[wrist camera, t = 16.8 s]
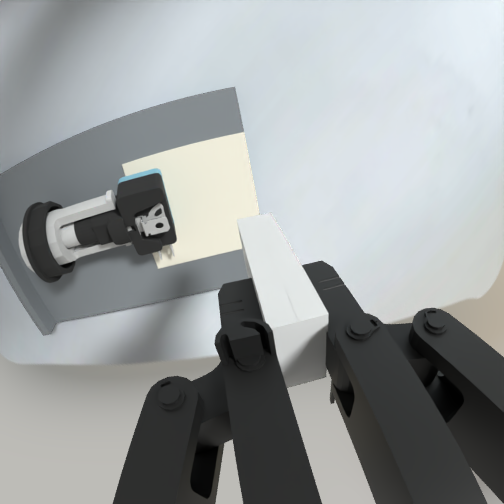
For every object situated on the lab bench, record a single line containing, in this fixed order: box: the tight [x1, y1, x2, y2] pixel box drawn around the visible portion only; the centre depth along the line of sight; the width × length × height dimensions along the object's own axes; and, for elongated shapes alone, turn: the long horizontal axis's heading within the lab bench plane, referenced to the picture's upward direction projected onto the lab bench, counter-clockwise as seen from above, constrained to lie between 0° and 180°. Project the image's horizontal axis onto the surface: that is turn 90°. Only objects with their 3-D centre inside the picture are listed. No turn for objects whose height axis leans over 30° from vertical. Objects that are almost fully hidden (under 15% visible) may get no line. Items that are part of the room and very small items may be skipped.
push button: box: [18, 168, 177, 283], centre depth 17 cm, size 7×5×10 cm
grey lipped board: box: [0, 87, 260, 335], centre depth 19 cm, size 14×21×3 cm, turn 101°
